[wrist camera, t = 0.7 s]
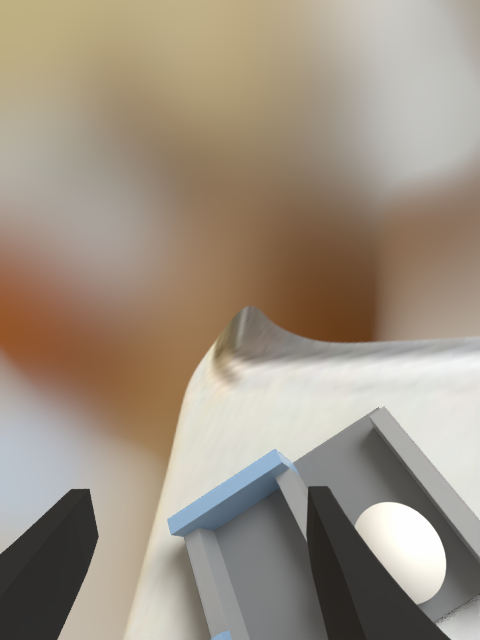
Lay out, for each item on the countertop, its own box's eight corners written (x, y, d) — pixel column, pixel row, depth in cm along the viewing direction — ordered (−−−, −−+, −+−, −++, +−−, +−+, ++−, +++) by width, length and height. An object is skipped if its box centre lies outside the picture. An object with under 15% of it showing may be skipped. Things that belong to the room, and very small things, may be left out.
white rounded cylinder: (460, 575, 19) (468, 575, 15) (399, 613, 20) (389, 624, 15) (408, 504, 22) (402, 486, 18) (355, 538, 22) (335, 528, 18)
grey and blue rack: (512, 572, 19) (530, 571, 16) (262, 726, 20) (226, 757, 16) (379, 410, 26) (371, 385, 23) (200, 526, 27) (167, 519, 24)
